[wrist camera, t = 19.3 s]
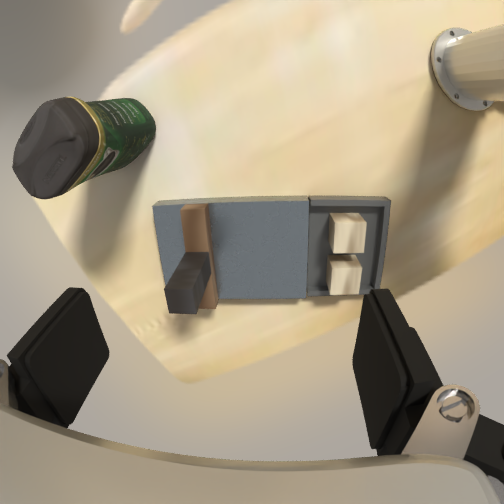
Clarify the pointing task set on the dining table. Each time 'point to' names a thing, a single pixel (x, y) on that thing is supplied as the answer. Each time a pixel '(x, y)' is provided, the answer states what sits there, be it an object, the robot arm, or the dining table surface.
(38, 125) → the coffee jar
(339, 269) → the pale wooden cube
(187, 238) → the brown handled push block
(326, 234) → the tray
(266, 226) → the board
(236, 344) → the dining table surface
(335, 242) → the chip
